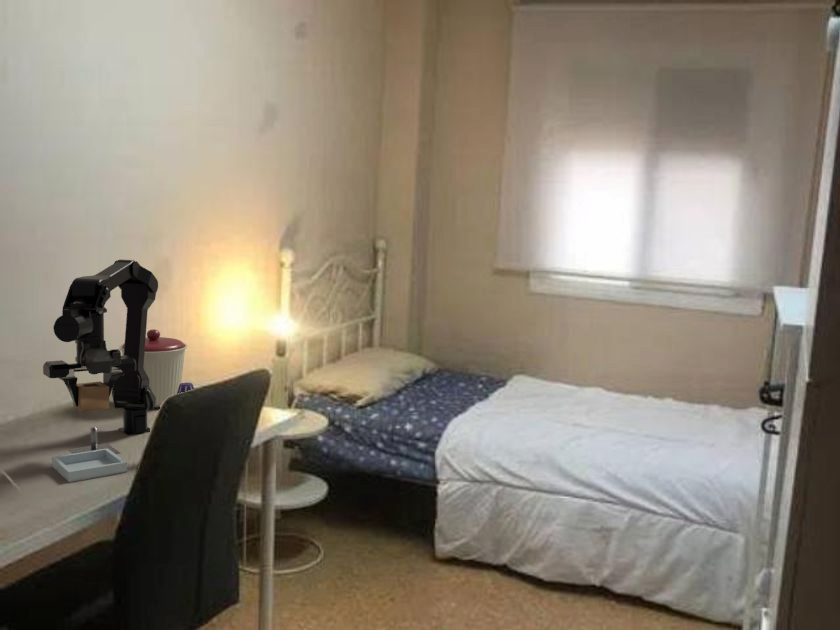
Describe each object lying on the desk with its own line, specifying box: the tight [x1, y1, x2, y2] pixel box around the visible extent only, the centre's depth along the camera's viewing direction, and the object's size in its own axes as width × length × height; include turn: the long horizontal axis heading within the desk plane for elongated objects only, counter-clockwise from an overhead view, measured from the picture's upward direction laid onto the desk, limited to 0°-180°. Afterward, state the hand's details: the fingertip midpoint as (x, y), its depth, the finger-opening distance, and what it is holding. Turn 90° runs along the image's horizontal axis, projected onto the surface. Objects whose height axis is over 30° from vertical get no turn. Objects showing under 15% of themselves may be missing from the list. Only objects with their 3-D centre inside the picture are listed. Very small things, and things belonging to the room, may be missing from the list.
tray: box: [51, 448, 128, 483], centre depth 190 cm, size 12×12×2 cm
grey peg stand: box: [67, 426, 121, 455], centre depth 202 cm, size 9×9×6 cm
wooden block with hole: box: [72, 381, 110, 412], centre depth 198 cm, size 8×6×5 cm
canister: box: [118, 329, 188, 409], centre depth 247 cm, size 18×18×21 cm
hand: (91, 404), depth 197 cm, fingers closed on wooden block with hole, 6 cm apart
